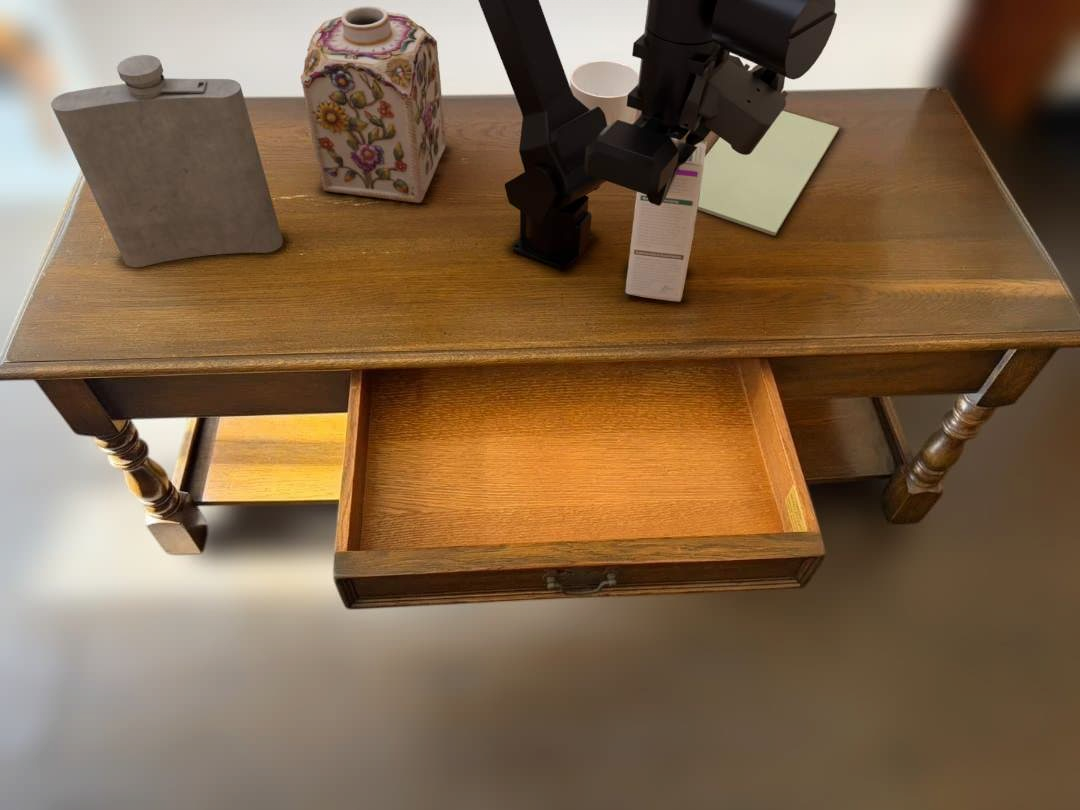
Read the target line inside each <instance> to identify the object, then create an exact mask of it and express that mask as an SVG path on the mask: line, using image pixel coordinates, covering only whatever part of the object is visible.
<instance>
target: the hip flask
mask: <svg viewBox="0 0 1080 810" xmlns="http://www.w3.org/2000/svg"><path fill="white" fill-rule="evenodd" d="M116 71H117V74H118V76H119V78H120V80H121V81H122V82H124V83H121V84H120V83H119V84H111V85H106V86H98V87H91V88H86V89H85V88H84V89H80V90H74V91H68V92H63V93H62V94H59V95H57V96H55V97H54V98H53V99H52V101H51V102H50V106H51V108H52V110H53V113H54V115H55V118H56V119H57V121H58V123H59V125H60V128H61V130H62V132H63V134H64V136H65V138H66V141H67V142H68V145H69V147H70V149H71V151H72V153H73V156H74V158H75V160H76V162H77V164H78V166H79V168H80V170H81V172H82V174H83V177H84V179H85V181H86V184H87V185H88V187H89V189H90V192H91V194H92V196H93V198H94V200H95V203H96V205H97V207H98V208H99V211H100V213H101V216H102V217H103V219H104V221H105V223H106V225H107V228H108V230H109V232H110V234H111V237H112V238H113V241H114V243H115V245H116V247H117V250H118V251H119V253H120V255H121V258H122V260H123V262H124V264H125V265H126V266H127V267H130V268H143V267H147V266H151V265H156V264H161V263H165V262H170V261H171V262H172V261H177V260H183V259H190V258H197V257H206V256H207V257H208V256H216V255H226V254H227V255H229V254H268V253H269V254H270V253H272V252H273V253H274V252H275V251H277V250H279V249H280V248H281V247H282V246H283V243H284V239H283V236H282V232H281V228H280V225H279V220H278V218H277V214H276V211H275V206H274V203H273V198H272V195H271V192H270V188H269V185H268V181H267V177H266V174H265V170H264V166H263V162H262V159H261V154H260V151H259V147H258V144H257V141H256V136H255V133H254V130H253V126H252V122H251V118H250V115H249V112H248V108H247V103H246V100H245V96H244V93H243V89H242V86H241V84H240V83H239V81H237V80H234V79H229V78H165V76H164V74H163V73H164V68H163V65H162V62H161V60H160V58H158V57H156V56H154V55H149V54H138V55H133V56H130V57H126V58H124V59H123V60H122V61H120V62H119V63H118V64H117V66H116Z"/></svg>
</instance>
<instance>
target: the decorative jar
mask: <svg viewBox="0 0 1080 810" xmlns="http://www.w3.org/2000/svg"><path fill="white" fill-rule="evenodd" d="M306 54H307V55H306V57H305V59H304V65H303V72H302V74H301V75H300V79H301V81H300V82H301V85H302V92H303V95H304V101H305V102H304V103H305V107H306V113H307V119H308V123H309V129H310V135H311V139H312V144H313V149H314V153H315V158H316V163H317V166H318V171H319V176H320V179H321V185H322V189H323V190H324V191H325V192H330V193H337V194H347V195H353V196H359V197H360V196H362V197H370V198H376V199H377V198H378V199H384V200H392V201H400V202H408V203H415V204H420V203H422V202H423V200H424V198H425V196H426V193H427V191H428V189H429V187H430V184H431V182H432V179H433V177H434V175H435V173H436V170H437V168H438V165H439V163H440V160H441V158H442V156H443V153H444V151H445V149H446V129H445V118H444V117H445V116H444V105H443V95H442V82H441V72H440V62H439V50H438V40H436V38H435V37H434V36H433V35H431V34H430V32H428V31H427V30H426V29H425V27H423V26H421V25H419V24H418V23H416V22H415V21H414V20H412V19H411V18H409V16H407V15H406V14H403V13H398V12H397V13H396V12H389V11H387V10H386V9H384V8H382V7H379V6H374V5H373V6H372V5H362V6H356V7H353V8H349V10H346V11H345V12H343V13H342V15H340V16H338V17H335V18H331V19H329V20H325V21H324V22H322V24H321V25H320V26H319V27H318V28H317V29H316V30H315V32H314V33H313V34H312V36H311V38H310V41H309V44H308V48H307V53H306Z"/></svg>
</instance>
